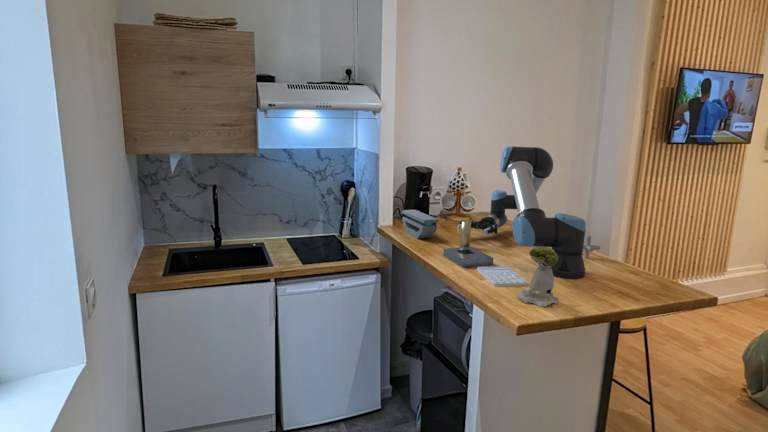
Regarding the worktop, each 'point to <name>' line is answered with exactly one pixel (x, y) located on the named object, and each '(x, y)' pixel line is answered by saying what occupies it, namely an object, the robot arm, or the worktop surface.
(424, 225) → the grey boxy piece
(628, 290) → the worktop surface
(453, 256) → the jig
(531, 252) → the mossy stone tower
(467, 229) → the brushed metal cylinder
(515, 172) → the robot arm
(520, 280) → the calculator
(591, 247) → the pipe connector
